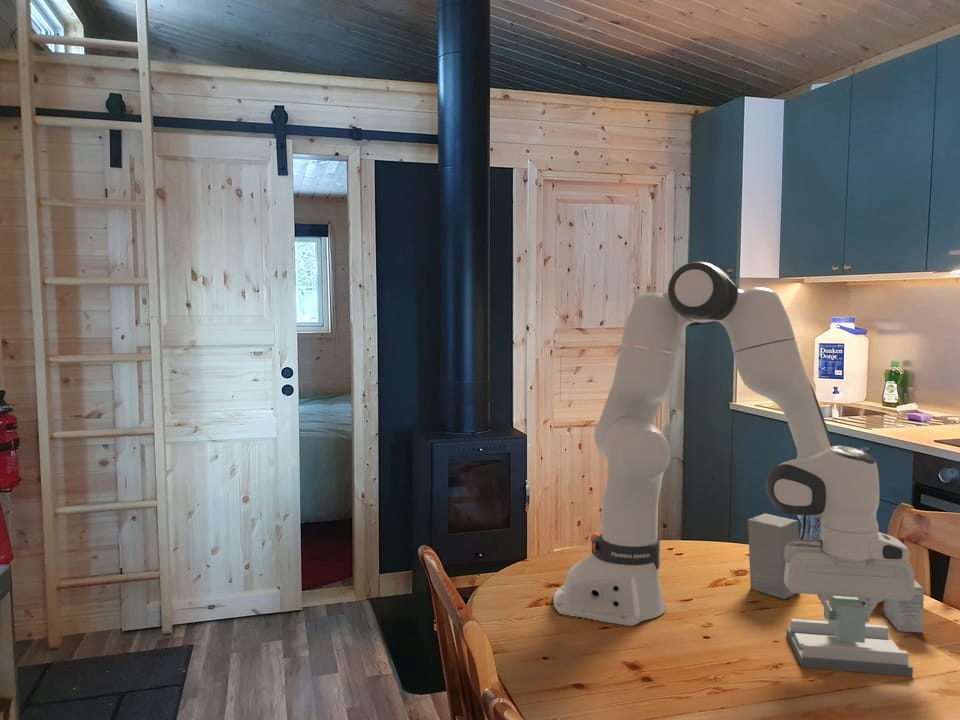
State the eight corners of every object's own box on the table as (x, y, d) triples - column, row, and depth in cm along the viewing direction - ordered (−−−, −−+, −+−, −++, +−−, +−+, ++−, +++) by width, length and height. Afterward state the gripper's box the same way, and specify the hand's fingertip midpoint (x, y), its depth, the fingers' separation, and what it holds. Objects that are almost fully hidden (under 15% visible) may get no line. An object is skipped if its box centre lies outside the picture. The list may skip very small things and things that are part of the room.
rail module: (839, 641, 123) (840, 606, 122) (828, 622, 130) (829, 590, 129) (864, 642, 122) (865, 608, 122) (852, 624, 129) (853, 592, 128)
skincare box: (801, 593, 152) (803, 520, 151) (781, 602, 148) (783, 526, 147) (765, 581, 159) (767, 510, 158) (745, 588, 155) (746, 516, 154)
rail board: (801, 667, 122) (802, 647, 122) (786, 635, 134) (787, 616, 133) (912, 676, 119) (913, 655, 118) (887, 642, 130) (887, 623, 130)
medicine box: (923, 633, 134) (925, 588, 133) (897, 632, 134) (898, 586, 134) (907, 615, 141) (908, 572, 141) (882, 614, 142) (883, 571, 142)
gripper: (788, 544, 124) (786, 622, 125) (920, 551, 119) (917, 632, 121) (780, 532, 130) (779, 607, 131) (906, 539, 126) (903, 616, 127)
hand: (846, 619), depth 126 cm, fingers closed on rail module, 4 cm apart
